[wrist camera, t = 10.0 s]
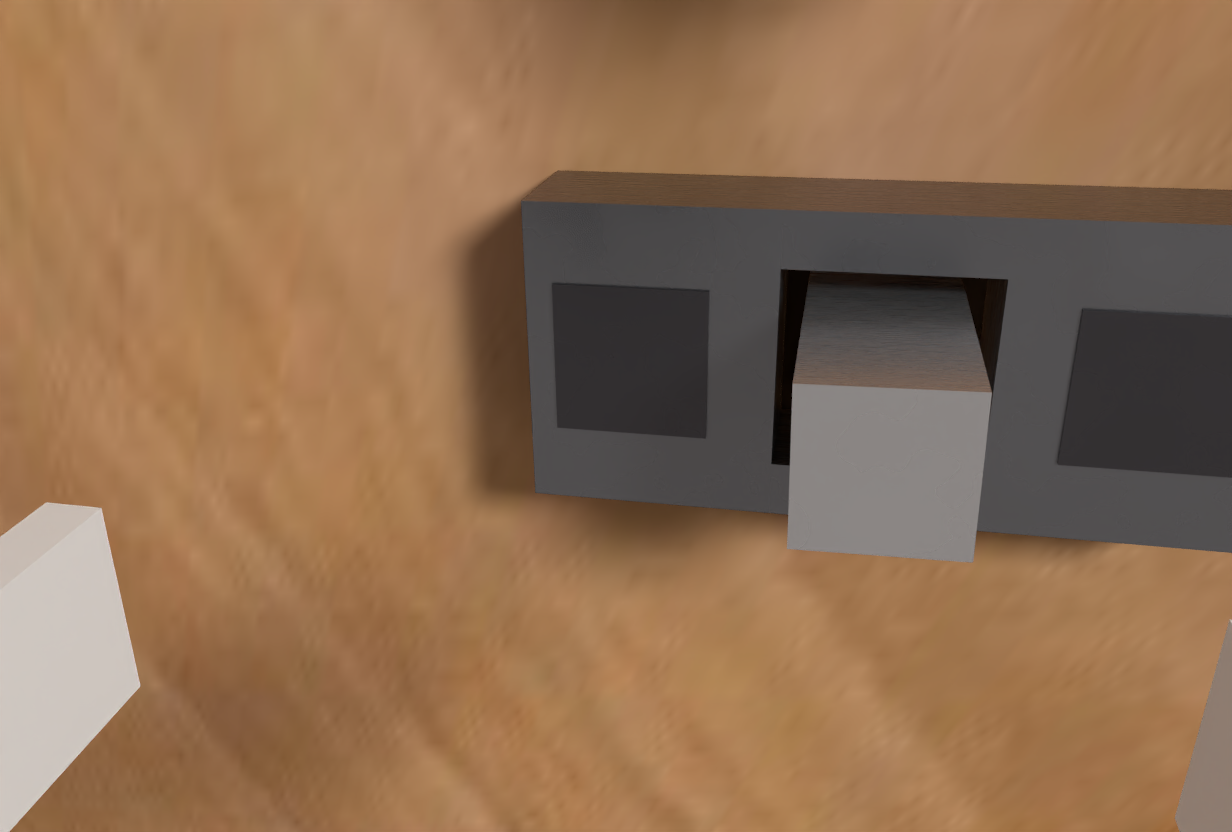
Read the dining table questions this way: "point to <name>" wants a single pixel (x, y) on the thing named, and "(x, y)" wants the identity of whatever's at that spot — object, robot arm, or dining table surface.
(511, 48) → the dining table surface
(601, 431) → the grey slotted base plate
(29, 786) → the robot arm
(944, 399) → the light grey rectangular block
